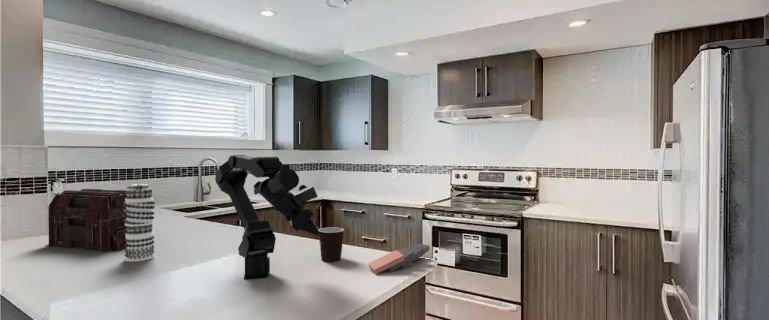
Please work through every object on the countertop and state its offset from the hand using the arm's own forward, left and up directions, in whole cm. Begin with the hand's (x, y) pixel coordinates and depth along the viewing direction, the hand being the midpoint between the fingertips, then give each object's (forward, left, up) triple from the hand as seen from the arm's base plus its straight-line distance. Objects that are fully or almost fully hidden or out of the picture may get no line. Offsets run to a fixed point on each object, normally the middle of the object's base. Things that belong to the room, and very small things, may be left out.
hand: (318, 234), depth 110 cm
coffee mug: (+7, +19, -13) cm, 24 cm away
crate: (-79, +63, -13) cm, 102 cm away
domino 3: (+25, +3, -12) cm, 28 cm away
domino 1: (+16, +1, -12) cm, 20 cm away
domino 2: (+20, +1, -12) cm, 24 cm away
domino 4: (+30, +8, -11) cm, 33 cm away
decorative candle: (-56, +36, -13) cm, 68 cm away
